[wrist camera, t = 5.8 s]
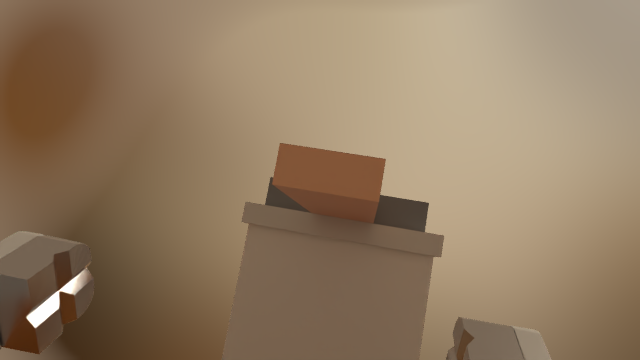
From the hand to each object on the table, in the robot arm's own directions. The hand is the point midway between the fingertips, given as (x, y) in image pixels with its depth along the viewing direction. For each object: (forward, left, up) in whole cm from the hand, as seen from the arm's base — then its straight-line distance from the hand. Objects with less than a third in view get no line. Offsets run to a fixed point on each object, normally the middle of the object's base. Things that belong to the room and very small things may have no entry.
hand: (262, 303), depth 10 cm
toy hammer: (+9, -7, +3) cm, 12 cm away
